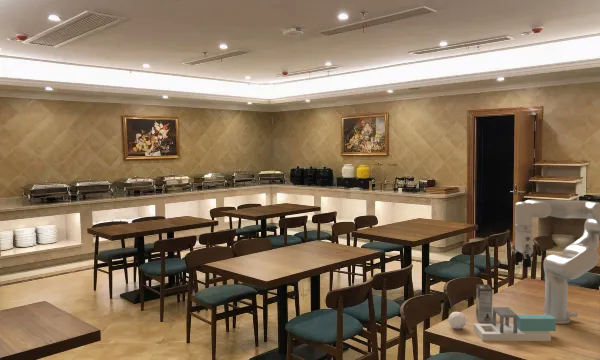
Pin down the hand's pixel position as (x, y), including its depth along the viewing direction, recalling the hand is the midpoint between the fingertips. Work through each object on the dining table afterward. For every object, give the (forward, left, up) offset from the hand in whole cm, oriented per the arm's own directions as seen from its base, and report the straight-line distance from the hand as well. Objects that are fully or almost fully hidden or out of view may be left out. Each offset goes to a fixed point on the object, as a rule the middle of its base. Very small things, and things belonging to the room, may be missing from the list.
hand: (522, 264), depth 227 cm
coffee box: (+16, -5, -28) cm, 33 cm away
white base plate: (+10, +15, -28) cm, 34 cm away
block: (0, +15, -25) cm, 29 cm away
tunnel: (+14, +15, -25) cm, 32 cm away
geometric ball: (+32, +7, -28) cm, 43 cm away
